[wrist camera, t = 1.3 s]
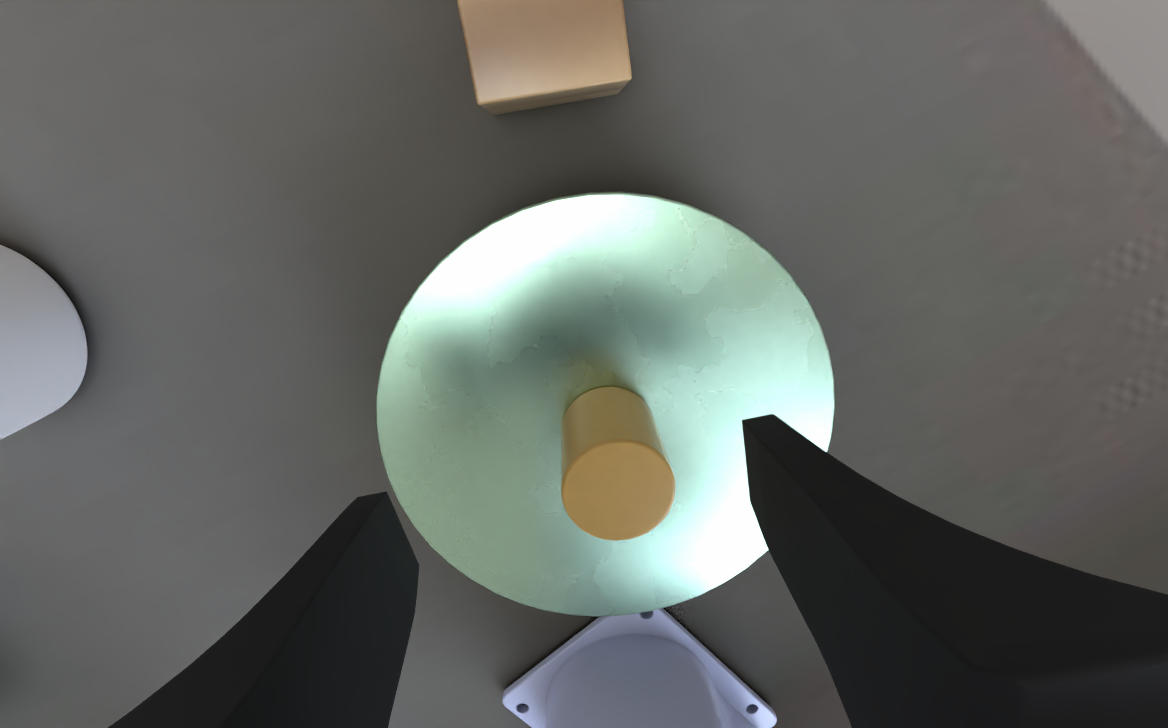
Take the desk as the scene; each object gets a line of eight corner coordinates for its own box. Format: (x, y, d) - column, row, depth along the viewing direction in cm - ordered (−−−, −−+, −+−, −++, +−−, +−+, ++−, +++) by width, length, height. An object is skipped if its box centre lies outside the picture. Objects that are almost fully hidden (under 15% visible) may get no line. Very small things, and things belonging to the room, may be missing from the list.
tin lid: (903, 421, 19) (1004, 500, 14) (591, 658, 21) (598, 785, 17) (624, 80, 15) (649, 51, 11) (293, 406, 18) (209, 484, 14)
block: (465, -30, 18) (441, -78, 15) (600, -52, 18) (610, -108, 14) (493, 115, 20) (477, 105, 16) (619, 94, 20) (633, 79, 16)
